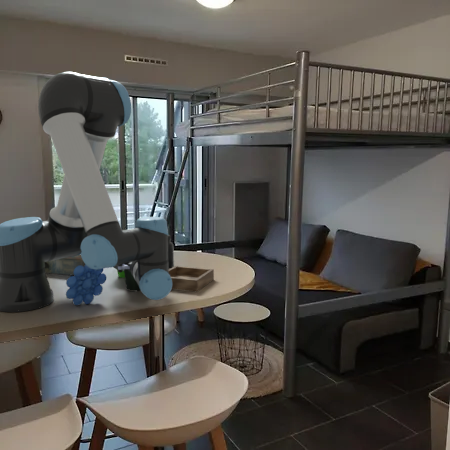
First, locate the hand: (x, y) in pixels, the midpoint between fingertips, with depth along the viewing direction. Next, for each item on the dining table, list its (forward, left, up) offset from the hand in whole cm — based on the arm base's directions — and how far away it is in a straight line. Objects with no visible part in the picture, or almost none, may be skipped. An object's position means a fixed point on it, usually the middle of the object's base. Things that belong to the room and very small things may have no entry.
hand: (133, 253), depth 136 cm
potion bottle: (+3, -3, -10) cm, 11 cm away
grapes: (-3, -20, -10) cm, 23 cm away
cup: (-8, +8, -10) cm, 15 cm away
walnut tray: (+15, +7, -10) cm, 19 cm away
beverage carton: (-29, +5, -11) cm, 31 cm away
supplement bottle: (-1, +23, -10) cm, 25 cm away
